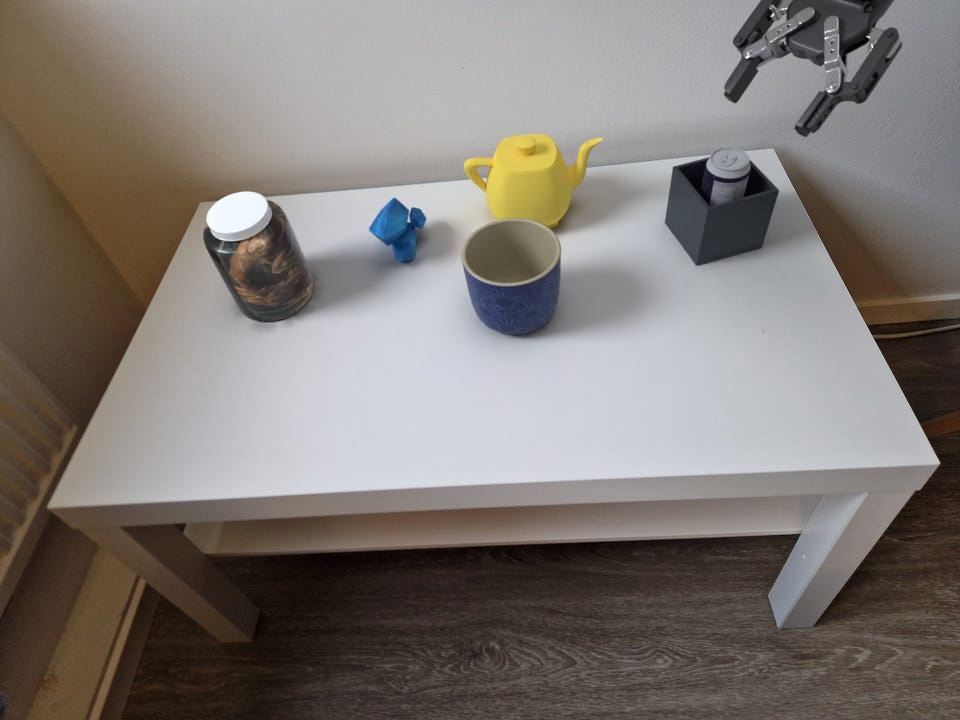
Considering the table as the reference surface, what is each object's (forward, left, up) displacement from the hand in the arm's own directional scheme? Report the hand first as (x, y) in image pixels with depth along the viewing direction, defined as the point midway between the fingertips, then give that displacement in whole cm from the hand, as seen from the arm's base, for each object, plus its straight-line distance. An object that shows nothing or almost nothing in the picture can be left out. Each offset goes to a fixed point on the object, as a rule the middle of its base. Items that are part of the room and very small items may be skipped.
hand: (763, 115), depth 65 cm
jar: (+56, -25, -28) cm, 68 cm away
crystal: (+36, -27, -28) cm, 53 cm away
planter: (+24, -9, -28) cm, 38 cm away
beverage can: (-7, -13, -27) cm, 31 cm away
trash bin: (-7, -13, -28) cm, 32 cm away
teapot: (+15, -28, -28) cm, 43 cm away
